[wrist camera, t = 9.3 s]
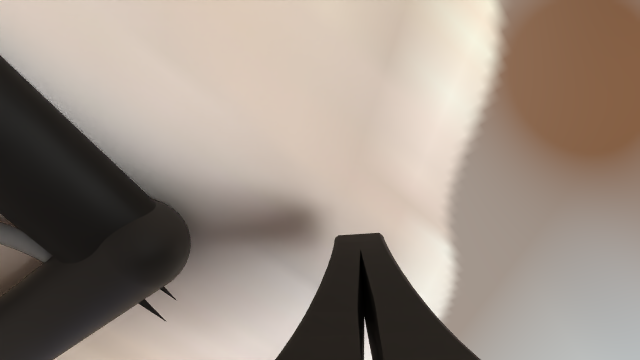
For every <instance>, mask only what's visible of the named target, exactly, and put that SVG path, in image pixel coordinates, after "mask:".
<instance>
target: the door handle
mask: <svg viewBox="0 0 640 360" xmlns="http://www.w3.org/2000/svg"><path fill="white" fill-rule="evenodd" d="M0 214H1V215H2V216H4V217H5V218H6V219H7V220H9V221H10V222H11V223H12V224H14V225H15V226H16V227H17V228H16V227H13V226H10V225H7V224H4V223H1V222H0V244H2V245H5V246H8V247H11V248H14V249H16V250H19V251H21V252H24V253H26V254H28V255H30V256H32V257H34V258H36V259H38V260H40V261H41V262H43V264H42V265H41V266H39V267H38V268H37V269H36V270H34V271H33V272H32V273H31V274H29V275H28V276H27V277H26V278H24V279H23V280H22V281H21V282H19V283H18V284H17V285H15V286H14V287H13V288H12V289H10V290H9V291H8V292H7V293H5V294H4V295H3V296H2V297H0V360H53V359H55V358H56V357H58V356H59V355H61V354H62V353H64V352H65V351H67V350H68V349H70V348H71V347H73V346H74V345H76V344H77V343H79V342H80V341H82V340H83V339H85V338H86V337H88V336H89V335H91V334H92V333H94V332H95V331H97V330H98V329H100V328H101V327H103V326H105V325H106V324H108V323H109V322H111V321H112V320H114V319H115V318H117V317H118V316H120V315H121V314H123V313H124V312H126V311H127V310H129V309H130V308H132V307H133V306H135V305H136V304H140V305H142V306H143V307H145V308H146V309H148V310H149V311H151V312H152V313H154V314H155V315H157V316H158V317H160V318H161V319H163V318H162V317H161V316H160V314H159V313H158V312H157V311H156V310H155V309H154V308H153V307H152V306H151V305H150V304H149V303H148V302H147V301H146V300H145V298H147V297H148V296H150V295H151V294H153V293H154V292H156V291H157V290H159V289H161V290H162V291H163V292H165V293H166V294H168V295H169V296H171V297H172V298H174V297H173V296H172V295H171V294H170V293H169V292H168V291H167V289H166V288H165V287H164V286H165V285H166V284H168V283H169V282H171V281H172V280H173V279H174V278H175V277H176V276H177V275H178V274H179V273H180V272H181V270H182V269H183V267H184V266H185V264H186V262H187V259H188V256H189V253H190V234H189V230H188V228H187V225H186V223H185V222H184V220H183V218H182V217H181V216H180V215H179V214H178V213H177V212H176V211H175V210H174V209H173V208H171V207H170V206H168V205H166V204H164V203H161V202H158V201H155V200H152V199H151V198H150V197H149V196H148V195H147V194H146V193H145V192H144V191H143V190H142V189H141V188H139V187H138V186H137V185H136V184H135V183H134V182H133V181H132V180H131V179H130V178H129V177H128V176H127V175H126V174H125V173H124V172H123V171H122V170H120V169H119V168H118V167H117V166H116V165H115V164H114V163H113V162H112V161H111V160H110V159H109V158H108V157H107V156H106V155H105V154H104V153H103V152H101V151H100V150H99V149H98V148H97V147H96V146H95V145H94V144H93V143H92V142H91V141H90V140H89V139H88V138H87V137H86V136H85V135H83V134H82V133H81V132H80V131H79V130H78V129H77V128H76V127H75V126H74V125H73V124H72V123H71V122H70V121H69V120H68V119H67V118H66V117H64V116H63V115H62V114H61V113H60V112H59V111H58V110H57V109H56V108H55V107H54V106H53V105H52V104H51V103H50V102H49V101H48V100H47V99H45V98H44V97H43V96H42V95H41V94H40V93H39V92H38V91H37V90H36V89H35V88H34V87H33V86H32V85H31V84H30V83H29V82H28V81H26V80H25V79H24V78H23V77H22V76H21V75H20V74H19V73H18V72H17V71H16V70H15V69H14V68H13V67H12V66H11V65H10V64H8V63H7V62H6V61H5V60H4V59H3V58H2V57H1V56H0ZM174 299H175V298H174ZM175 300H176V299H175ZM163 320H164V319H163ZM164 321H165V320H164Z"/></svg>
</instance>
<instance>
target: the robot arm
mask: <svg viewBox="0 0 640 360" xmlns="http://www.w3.org/2000/svg"><path fill="white" fill-rule="evenodd" d="M364 317H365V322H366V328H367V333H368V338H369V344H370V349H371V354H372V360H480V359H479V358H478V357H477V356H476V355H475V354H474V353H473V352H471V351H470V350H469V349H468V348H467V347H466V346H465V345H464V344H463V343H462V342H460V341H459V340H458V339H457V337H455V336H454V335H453V333H452V332H450V330H449V329H448V328H447V327H446V326H445V325H444V324H443V323H442V322H441V321H440V320H439V319H438V318H437V316H436V315H435V314H434V313H433V312H432V311H431V309H430V308H429V307H428V306H427V305H426V303H425V302H424V301H423V300H422V298H421V297H420V296H419V295H418V293H417V292H416V291H415V289H414V288H413V287H412V285H411V284H410V282H409V281H408V279H407V278H406V276H405V275H404V273H403V272H402V271H401V269H400V267H399V266H398V264H397V263H396V261H395V259H394V258H393V256H392V254H391V252H390V250H389V248H388V246H387V244H386V242H385V240H384V237H383V236H382V235H381V234H380V233H370V234H354V235H339V236H337V237H336V238H335V241H334V247H333V251H332V255H331V258H330V261H329V264H328V267H327V269H326V272H325V274H324V277H323V279H322V282H321V284H320V286H319V288H318V290H317V293H316V295H315V297H314V299H313V301H312V303H311V305H310V307H309V309H308V310H307V312H306V314H305V316H304V317H303V319H302V321H301V323H300V324H299V326H298V327H297V329H296V331H295V332H294V334H293V335H292V337H291V338H290V340H289V341H288V343H287V344H286V346H285V347H284V348H283V350H282V351H281V353H280V354H279V355H278V357H277V358H276V359H275V360H364Z"/></svg>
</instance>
